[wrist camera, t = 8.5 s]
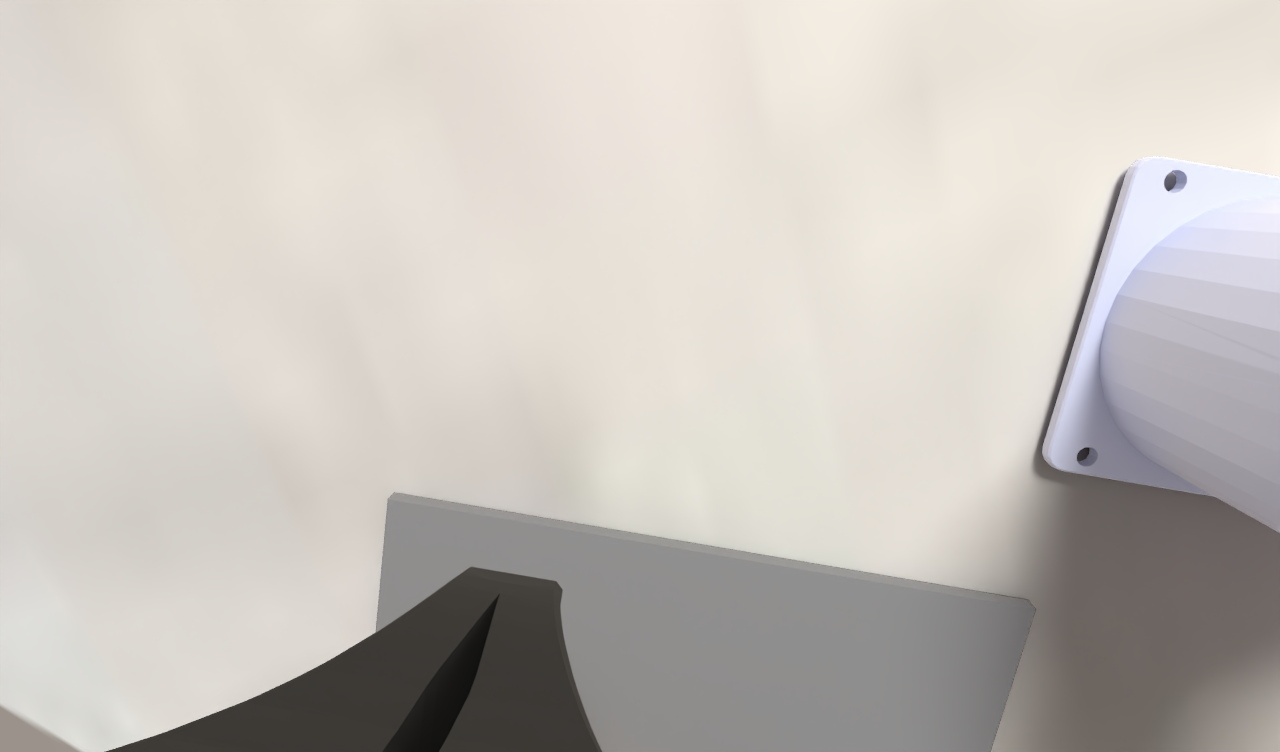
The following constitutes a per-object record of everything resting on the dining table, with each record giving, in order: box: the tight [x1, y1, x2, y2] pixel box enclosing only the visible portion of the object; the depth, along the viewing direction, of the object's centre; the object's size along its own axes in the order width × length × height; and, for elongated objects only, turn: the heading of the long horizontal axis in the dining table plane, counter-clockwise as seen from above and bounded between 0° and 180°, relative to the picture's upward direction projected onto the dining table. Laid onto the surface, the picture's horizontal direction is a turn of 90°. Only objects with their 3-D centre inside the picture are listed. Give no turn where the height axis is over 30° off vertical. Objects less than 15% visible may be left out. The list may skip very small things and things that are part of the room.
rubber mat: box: [376, 492, 1036, 752], centre depth 23 cm, size 18×12×1 cm, turn 81°
